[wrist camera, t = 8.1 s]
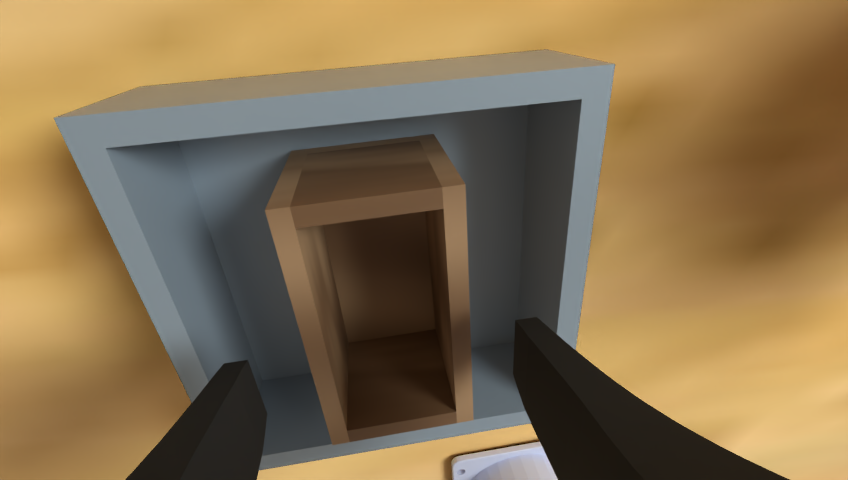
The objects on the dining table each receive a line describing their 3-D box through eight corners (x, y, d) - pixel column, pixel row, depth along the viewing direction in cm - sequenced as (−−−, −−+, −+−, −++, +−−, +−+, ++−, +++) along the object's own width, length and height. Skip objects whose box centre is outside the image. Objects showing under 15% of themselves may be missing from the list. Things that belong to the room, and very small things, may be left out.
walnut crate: (447, 328, 20) (473, 420, 15) (337, 345, 19) (332, 445, 15) (433, 134, 15) (465, 184, 11) (291, 150, 15) (264, 210, 10)
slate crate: (527, 342, 22) (566, 417, 18) (251, 385, 20) (227, 475, 16) (546, 49, 15) (614, 63, 11) (139, 86, 14) (53, 117, 10)
